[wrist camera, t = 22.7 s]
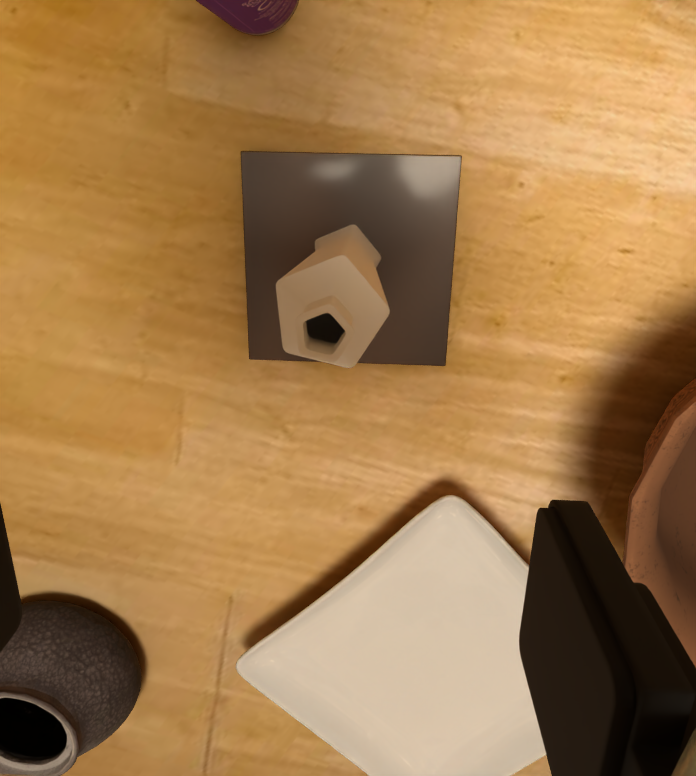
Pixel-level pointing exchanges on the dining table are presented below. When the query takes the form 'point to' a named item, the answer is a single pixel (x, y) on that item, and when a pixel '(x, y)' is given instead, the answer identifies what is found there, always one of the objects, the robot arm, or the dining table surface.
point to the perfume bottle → (333, 300)
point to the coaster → (375, 220)
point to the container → (253, 13)
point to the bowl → (668, 518)
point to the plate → (413, 654)
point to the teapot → (62, 687)
